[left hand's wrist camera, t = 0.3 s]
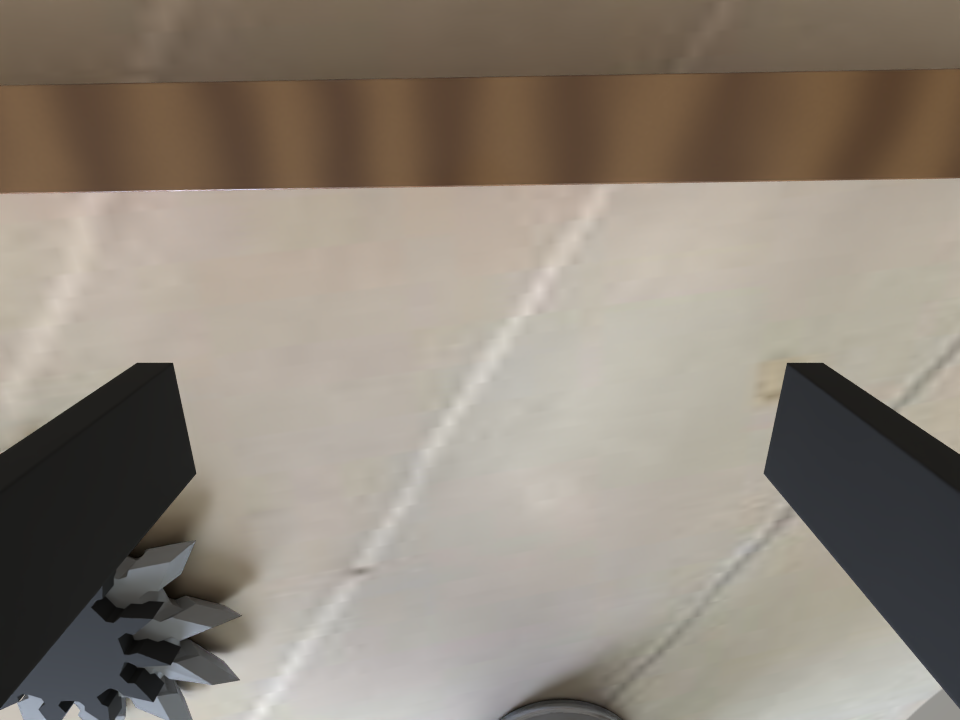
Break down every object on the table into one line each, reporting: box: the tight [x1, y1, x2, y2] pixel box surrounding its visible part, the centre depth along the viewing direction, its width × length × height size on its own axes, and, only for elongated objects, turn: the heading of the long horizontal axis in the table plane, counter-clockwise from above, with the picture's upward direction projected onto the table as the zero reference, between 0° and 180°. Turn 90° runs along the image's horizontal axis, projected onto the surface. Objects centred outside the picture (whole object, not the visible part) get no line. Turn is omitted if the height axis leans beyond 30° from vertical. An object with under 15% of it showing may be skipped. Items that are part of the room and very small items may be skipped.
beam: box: [0, 69, 960, 194], centre depth 32 cm, size 64×5×9 cm, turn 91°
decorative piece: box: [0, 540, 242, 720], centre depth 48 cm, size 30×4×30 cm
